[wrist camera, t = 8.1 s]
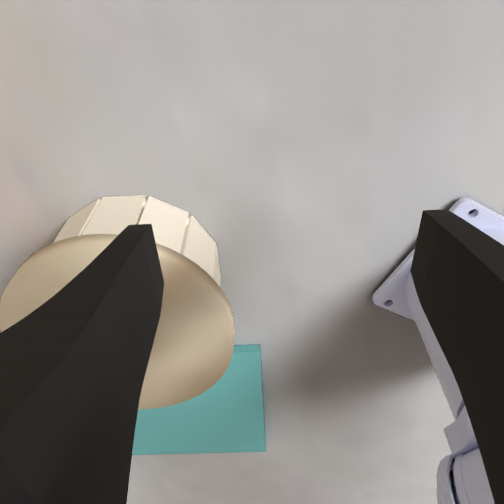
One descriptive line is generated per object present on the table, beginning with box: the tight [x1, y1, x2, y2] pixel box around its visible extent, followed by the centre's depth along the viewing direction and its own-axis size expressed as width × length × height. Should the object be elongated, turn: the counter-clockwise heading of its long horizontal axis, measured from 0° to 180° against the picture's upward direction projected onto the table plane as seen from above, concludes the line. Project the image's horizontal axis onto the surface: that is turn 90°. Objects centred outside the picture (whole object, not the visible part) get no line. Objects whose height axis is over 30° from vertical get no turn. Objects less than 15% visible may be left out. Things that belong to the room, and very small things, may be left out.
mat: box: [132, 345, 266, 455], centre depth 33 cm, size 12×12×1 cm
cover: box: [0, 234, 235, 409], centre depth 20 cm, size 11×11×5 cm
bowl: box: [53, 195, 221, 286], centre depth 24 cm, size 9×9×4 cm
